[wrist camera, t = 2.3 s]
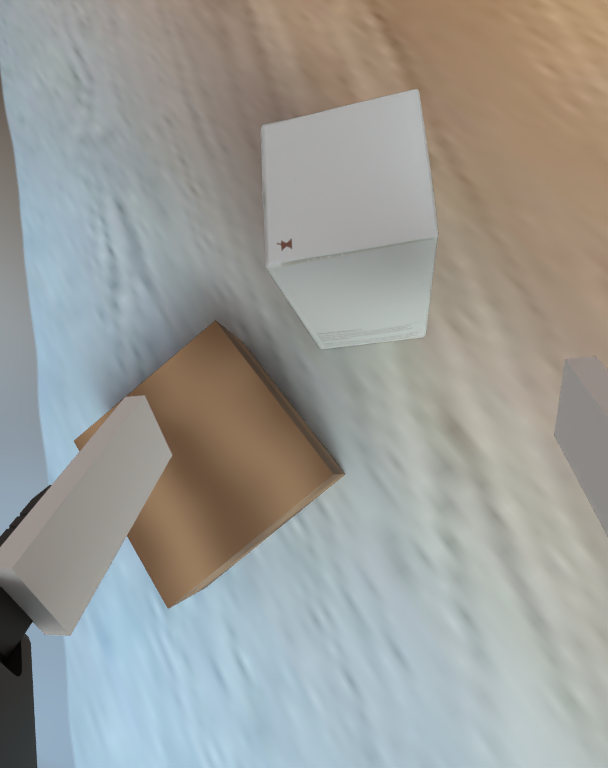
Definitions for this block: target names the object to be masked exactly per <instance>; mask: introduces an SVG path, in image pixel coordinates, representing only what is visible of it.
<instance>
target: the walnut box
mask: <svg viewBox="0 0 608 768" xmlns="http://www.w3.org/2000/svg"><path fill="white" fill-rule="evenodd" d="M142 395H145V397H146V399H147V401H148V403H149V406H150V408H151V410H152V412H153V414H154V416H155V419H156V421H157V423H158V425H159V427H160V429H161V432H162V434H163V436H164V438H165V440H166V443H167V445H168V447H169V449H170V451H171V453H172V457H171V458H170V460H169V462H168V464H167V466H166V467H165V469H164V471H163V473H162V474H161V476H160V478H159V480H158V481H157V483H156V485H155V487H154V489H153V490H152V492H151V494H150V496H149V497H148V499H147V501H146V503H145V504H144V506H143V508H142V510H141V512H140V513H139V515H138V517H137V519H136V520H135V522H134V524H133V526H132V528H131V529H130V531H129V533H128V535H127V537H128V539H129V540H130V542H131V544H132V546H133V547H134V549H135V551H136V553H137V555H138V556H139V558H140V560H141V562H142V563H143V565H144V567H145V569H146V571H147V572H148V574H149V576H150V578H151V579H152V581H153V583H154V585H155V587H156V588H157V590H158V592H159V594H160V595H161V597H162V599H163V601H164V603H165V604H166V606H167V608H168V609H169V608H170V607H172V606H174V605H176V604H178V603H179V602H181V601H183V600H185V599H187V598H188V597H190V596H192V595H194V594H195V593H197V592H199V591H201V590H203V589H204V588H206V587H207V586H208V585H210V584H211V583H212V582H213V581H214V580H216V579H217V578H218V577H219V576H221V575H222V574H223V573H224V572H226V571H227V570H228V569H229V568H230V567H232V566H233V565H234V564H235V563H237V562H238V561H239V560H240V559H242V558H243V557H244V556H245V555H247V554H248V553H249V552H250V551H251V550H253V549H254V548H255V547H256V546H258V545H259V544H260V543H261V542H263V541H264V540H265V539H266V538H267V537H269V536H270V535H271V534H272V533H274V532H275V531H276V530H277V529H279V528H280V527H281V526H282V525H283V524H285V523H286V522H287V521H288V520H290V519H291V518H292V517H293V516H295V515H296V514H297V513H298V512H300V511H301V510H302V509H303V508H304V507H306V506H307V505H308V504H309V503H311V502H312V501H313V500H314V499H316V498H317V497H318V496H319V495H320V494H322V493H323V492H324V491H325V490H327V489H328V488H329V487H330V486H332V485H333V484H334V483H335V482H336V481H338V480H339V479H340V478H341V477H343V476H344V475H345V473H344V472H343V471H342V469H341V468H340V467H339V466H338V464H337V463H336V462H335V460H334V459H333V458H332V457H331V455H330V454H329V453H328V451H327V450H326V449H325V448H324V446H323V445H322V444H321V442H320V441H319V440H318V439H317V437H316V436H315V435H314V433H313V432H312V431H311V430H310V428H309V427H308V426H307V424H306V423H305V422H304V421H303V419H302V418H301V417H300V415H299V414H298V413H297V412H296V410H295V409H294V408H293V406H292V405H291V404H290V403H289V401H288V400H287V399H286V397H285V396H284V395H283V394H282V392H281V391H280V390H279V388H278V387H277V386H276V385H275V383H274V382H273V381H272V379H271V378H270V377H269V376H268V374H267V373H266V372H265V370H264V369H263V368H262V367H261V365H260V364H259V363H258V361H257V360H256V359H255V357H254V356H253V355H252V354H251V352H250V351H249V350H248V348H247V347H246V346H245V345H244V343H243V342H242V341H241V340H239V339H238V338H237V337H236V336H234V335H233V334H232V333H231V332H229V331H228V330H227V329H226V328H224V327H223V326H222V325H221V324H219V323H218V322H217V321H216V320H215V321H214V322H213V323H212V324H210V325H209V326H208V327H207V328H206V329H205V330H203V331H202V332H201V333H200V334H199V335H197V336H196V337H195V338H194V339H193V340H192V341H190V342H189V343H188V344H187V345H186V346H185V347H183V348H182V349H181V350H180V351H179V352H178V353H176V354H175V355H174V356H173V357H172V358H170V359H169V360H168V361H167V362H166V363H165V364H163V365H162V366H161V367H160V368H159V369H158V370H156V371H155V372H154V373H153V374H152V375H151V376H149V377H148V378H147V379H146V380H145V381H144V382H142V383H141V384H140V385H139V386H138V387H136V388H135V389H134V390H133V391H132V392H131V393H129V394H128V395H127V396H126V397H131V396H142ZM122 400H123V399H122ZM122 400H121V401H122ZM121 401H120V402H121ZM120 402H119V403H118V404H117V405H115V406H114V407H113V408H112V409H111V410H109V411H108V412H107V413H106V414H105V415H104V416H102V417H101V418H100V419H99V420H98V421H97V422H95V423H94V424H93V425H92V426H91V427H90V428H88V429H87V430H86V431H85V432H84V433H83V434H81V435H80V436H79V437H78V438H77V439H75V440H74V442H75V444H76V446H77V448H78V449H79V451H81V449H82V448H83V447H84V446H85V445H86V443H87V442H88V441H89V440H90V439H91V437H92V436H93V435H94V434H95V433H96V431H97V430H98V429H99V428H100V427H101V425H102V424H103V423H104V422H105V421H106V419H107V418H108V417H109V416H110V415H111V413H112V412H113V411H114V410H115V408H116V407H117V406H118V405H119V404H120Z"/></svg>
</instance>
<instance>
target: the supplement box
mask: <svg viewBox="0 0 608 768" xmlns="http://www.w3.org/2000/svg"><path fill="white" fill-rule="evenodd" d="M261 155H262V181H263V194H262V195H263V208H264V234H265V267H266V269H267V270H268V272H269V273H270V275H271V276H272V278H273V279H274V281H275V282H276V284H277V285H278V287H279V288H280V290H281V291H282V293H283V294H284V296H285V297H286V299H287V300H288V302H289V303H290V305H291V306H292V308H293V309H294V311H295V312H296V314H297V315H298V317H299V318H300V320H301V321H302V323H303V324H304V326H305V327H306V329H307V330H308V332H309V333H310V335H311V336H312V338H313V339H314V341H315V342H316V344H317V345H318V347H319V349H329V348H338V347H346V346H355V345H363V344H372V343H381V342H389V341H397V340H405V339H414V338H422V337H425V335H426V329H427V322H428V313H429V305H430V296H431V287H432V278H433V270H434V262H435V254H436V246H437V239H438V225H437V215H436V207H435V199H434V191H433V183H432V176H431V168H430V162H429V155H428V148H427V141H426V134H425V127H424V119H423V113H422V107H421V101H420V95H419V91H418V90H417V89H414V90H410V91H405V92H401V93H396V94H392V95H388V96H383V97H379V98H375V99H371V100H367V101H363V102H358V103H354V104H350V105H346V106H342V107H337V108H333V109H330V110H326V111H322V112H318V113H314V114H310V115H306V116H301V117H296V118H291V119H287V120H282V121H278V122H273V123H268V124H264V125H262V127H261Z"/></svg>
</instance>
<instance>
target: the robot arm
mask: <svg viewBox="0 0 608 768" xmlns="http://www.w3.org/2000/svg"><path fill="white" fill-rule="evenodd" d="M554 436H555V438H556V440H557V442H558V443H559V445H560V447H561V449H562V451H563V453H564V455H565V457H566V459H567V461H568V462H569V464H570V466H571V468H572V470H573V472H574V474H575V476H576V478H577V479H578V481H579V483H580V485H581V487H582V489H583V491H584V493H585V495H586V497H587V498H588V500H589V502H590V504H591V506H592V508H593V510H594V512H595V514H596V515H597V517H598V519H599V521H600V523H601V525H602V527H603V529H604V531H605V532H606V534H607V536H608V370H607V369H606V367H605V366H604V365H603V364H602V363H601V362H600V360H599V359H598V358H597V357H596V356H592V357H581V358H569V359H565V364H564V371H563V378H562V385H561V391H560V398H559V405H558V412H557V418H556V425H555V432H554ZM171 457H172V453H171V451H170V449H169V447H168V445H167V443H166V440H165V438H164V436H163V434H162V432H161V429H160V427H159V425H158V423H157V421H156V419H155V416H154V414H153V412H152V410H151V408H150V406H149V403H148V401H147V399H146V397H145V395H142V396H131V397H125V398H124V399H123V400H122V401H121V402H120V404H119V405H118V406H117V407H116V408H115V410H114V411H113V412H112V413H111V415H110V416H109V417H108V418H107V419H106V421H105V422H104V423H103V424H102V425H101V427H100V428H99V429H98V430H97V431H96V433H95V434H94V435H93V436H92V437H91V439H90V440H89V441H88V442H87V443H86V445H85V446H84V447H83V448H82V449H81V451H80V452H79V453H78V454H77V455H76V457H75V458H74V459H73V460H72V461H71V463H70V464H69V465H68V466H67V467H66V469H65V470H64V471H63V472H62V473H61V475H60V476H59V477H58V478H57V479H56V481H55V482H54V483H53V484H52V485H49V486H48V487H47V488H46V489H44V490H43V491H42V492H40V493H39V494H38V495H37V496H35V497H34V498H33V499H32V500H31V501H30V502H29V503H28V505H27V506H26V507H25V508H24V509H23V510H22V512H21V513H20V516H19V517H17V518H16V519H15V520H14V521H13V522H12V523H11V525H10V528H9V529H6V530H5V532H4V533H3V534H2V535H1V536H0V768H37V755H36V737H35V717H34V698H33V680H32V679H33V678H32V659H31V643H30V640H29V637H28V636H27V635H26V634H25V632H26V631H27V629H28V628H29V626H30V625H31V623H32V622H33V623H34V624H35V625H36V626H37V627H38V628H39V629H40V630H41V631H42V632H43V633H44V634H45V635H64V636H71V634H72V632H73V630H74V628H75V627H76V625H77V623H78V621H79V620H80V618H81V616H82V614H83V613H84V611H85V609H86V607H87V605H88V604H89V602H90V600H91V598H92V597H93V595H94V593H95V591H96V589H97V588H98V586H99V584H100V582H101V581H102V579H103V577H104V575H105V574H106V572H107V570H108V568H109V566H110V565H111V563H112V561H113V559H114V558H115V556H116V554H117V552H118V551H119V549H120V547H121V545H122V543H123V542H124V540H125V538H126V536H127V535H128V533H129V531H130V529H131V528H132V526H133V524H134V522H135V520H136V519H137V517H138V515H139V513H140V512H141V510H142V508H143V506H144V504H145V503H146V501H147V499H148V497H149V496H150V494H151V492H152V490H153V489H154V487H155V485H156V483H157V481H158V480H159V478H160V476H161V474H162V473H163V471H164V469H165V467H166V466H167V464H168V462H169V460H170V458H171Z"/></svg>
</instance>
